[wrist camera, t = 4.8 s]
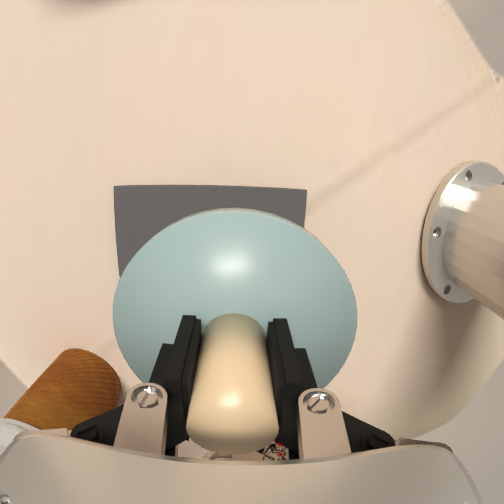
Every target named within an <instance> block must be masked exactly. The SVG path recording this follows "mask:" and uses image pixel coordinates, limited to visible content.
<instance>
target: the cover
mask: <svg viewBox="0 0 504 504" xmlns="http://www.w3.org/2000/svg"><path fill="white" fill-rule="evenodd" d="M183 315H196V318H197V319H201V331H202V339H201V345H200V350H199V356H198V361H197V367H196V372H195V378H194V384H193V390H192V396H191V402H190V405H189V411H188V417H187V424H186V430H187V433H188V435H189V437H190V438H191V439H192V440H193V441H194V442H195V443H196V444H198V445H199V446H201V447H203V448H205V449H207V450H210V451H213V452H217V453H222V454H246V453H251V452H255V451H258V450H260V449H263V448H265V447H266V446H268V445H269V444H271V443H272V442H273V441H274V440H275V438H276V437H277V435H278V431H279V427H278V420H277V412H276V407H275V400H274V393H273V385H272V378H271V371H270V363H269V356H268V348H267V341H266V339H267V328H268V322H273V318H286V319H287V321H288V325H289V329H290V333H291V336H292V340H293V344H294V348H305V349H306V351H307V354H308V358H309V361H310V364H311V367H312V371H313V374H314V377H315V380H316V384H317V387H318V388H321V389H323V388H324V387H325V386H326V385H327V384H328V383H329V382H330V381H331V380H332V379H333V378H334V377H335V376H336V374H337V373H338V372H339V370H340V369H341V367H342V366H343V364H344V363H345V361H346V359H347V357H348V355H349V353H350V351H351V348H352V345H353V342H354V339H355V334H356V328H357V307H356V300H355V296H354V292H353V289H352V286H351V283H350V281H349V279H348V277H347V275H346V273H345V271H344V270H343V268H342V267H341V266H340V264H339V263H338V261H337V260H336V259H335V257H334V256H333V255H332V254H331V253H330V251H329V250H328V249H327V248H326V247H325V246H324V245H323V244H322V243H321V242H320V241H319V240H318V239H317V238H316V237H315V236H313V235H312V234H311V233H309V232H308V231H307V230H306V229H304V228H303V227H301V226H299V225H297V224H296V223H294V222H292V221H290V220H288V219H286V218H283V217H280V216H278V215H275V214H273V213H268V212H264V211H260V210H256V209H246V208H218V209H213V210H207V211H202V212H198V213H195V214H192V215H189V216H186V217H184V218H182V219H180V220H178V221H176V222H173V223H171V224H170V225H168V226H167V227H165V228H164V229H162V230H161V231H159V232H158V233H157V234H155V235H154V236H153V237H152V238H151V239H150V240H149V241H148V242H147V243H146V244H145V245H144V246H143V247H142V248H141V249H140V250H139V251H138V252H137V253H136V254H135V256H134V257H133V258H132V260H131V261H130V262H129V264H128V265H127V266H126V268H125V270H124V272H123V274H122V276H121V278H120V280H119V283H118V286H117V289H116V292H115V297H114V303H113V325H114V332H115V336H116V339H117V342H118V345H119V348H120V350H121V352H122V354H123V357H124V358H125V360H126V362H127V363H128V365H129V366H130V368H131V369H132V371H133V372H134V373H135V374H136V376H137V377H138V378H139V379H140V380H141V381H142V382H143V383H149V380H150V377H151V374H152V371H153V368H154V365H155V363H156V360H157V357H158V354H159V351H160V349H161V346H162V344H163V343H167V344H174V341H175V338H176V334H177V331H178V328H179V325H180V322H181V319H182V316H183Z"/></svg>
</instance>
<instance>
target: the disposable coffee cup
mask: <svg viewBox="0 0 504 504" xmlns="http://www.w3.org/2000/svg"><path fill="white" fill-rule="evenodd" d="M119 393H120V381H119V378H118V376H117V375H116V373H115V371H114V370H113V369H112V367H111V366H110V365H109V364H108V363H107V362H105V361H104V360H103V359H101V358H100V357H98V356H97V355H95V354H93V353H91V352H89V351H85V350H82V349H68V350H65V351H64V352H62V353H61V354H60V355H59V356H58V357H57V359H56V360H55V361H54V362H53V363H52V364H51V365H50V366H49V367H48V368H47V369H46V370H45V371H44V372H43V374H42V375H41V376H40V377H39V378H38V379H37V380H36V381H35V382H34V384H33V385H32V386H31V387H30V388H29V389H28V390H27V391H26V393H25V394H24V395H23V396H22V397H21V398H20V399H19V400H18V402H17V403H16V404H15V405H14V406H13V407H12V408H11V410H10V411H9V412H8V414H7V415H6V416H5V417H4V418H3V419H0V456H1V455H2V453H3V452H4V451H5V449H6V448H7V447H8V446H9V444H10V443H11V442H13V439H14V437H15V436H16V435H17V434H18V433H20V432H22V431H31V430H48V429H60V428H67V430H68V431H69V430H72V429H73V428H74V427H75V426H76V425H77V424H79V423H81V422H83V421H86V420H88V419H91V418H93V417H96V416H98V415H100V414H103V413H105V412H107V411H110V410H112V409H114V408H117V405H118V399H119Z"/></svg>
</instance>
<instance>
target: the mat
mask: <svg viewBox="0 0 504 504" xmlns="http://www.w3.org/2000/svg"><path fill="white" fill-rule="evenodd" d="M306 196H307V190H303V189H288V188H271V187H249V186H219V185H128V186H114V211H115V230H116V244H117V256H118V266H119V275H120V278H121V276H122V274H123V272H124V270H125V268H126V266H127V265H128V264H129V262H130V261H131V260H132V258H133V257H134V256H135V254H136V253H137V252H138V251H139V250H140V249H141V248H142V247H143V246H144V245H145V244H146V243H147V242H148V241H149V240H150V239H151V238H152V237H153V236H154V235H155V234H157V233H158V232H159V231H161V230H162V229H164V228H165V227H167V226H168V225H170V224H171V223H173V222H176V221H178V220H180V219H182V218H184V217H186V216H189V215H192V214H195V213H198V212H202V211H207V210H213V209H218V208H246V209H256V210H260V211H264V212H268V213H273V214H275V215H278V216H280V217H283V218H286V219H288V220H290V221H292V222H294V223H296V224H297V225H299V226H301V227H303V228H304V218H305V207H306Z"/></svg>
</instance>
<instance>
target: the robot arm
mask: <svg viewBox="0 0 504 504" xmlns="http://www.w3.org/2000/svg"><path fill="white" fill-rule="evenodd" d="M422 263H423V268H424V273H425V276H426V278H427V280H428V283H429V285H430V286H431V287H432V289H433V290H434V291H435V292H436V293H437V294H438V295H440V296H441V297H442V298H443V299H445V300H447V301H449V302H452V303H465V302H468V301H470V300H473V299H476V300H478V301H479V302H480V303H482V304H483V305H485V306H486V307H487V308H489V309H490V310H491V311H493V312H494V313H496V314H497V315H498V316H500V317H501V318H502V319H504V175H503V174H502V173H501V172H500V171H499V170H498V169H497V168H496V167H495V166H493V165H491V164H489V163H485V162H480V161H469V162H466V163H463V164H461V165H459V166H458V167H456V168H455V169H453V170H452V171H451V172H450V173H449V174H448V175H447V176H446V177H445V178H444V180H443V181H442V183H441V184H440V186H439V187H438V189H437V191H436V193H435V195H434V197H433V199H432V201H431V203H430V206H429V210H428V213H427V216H426V219H425V224H424V229H423V236H422ZM201 339H202V331H201V319H197V318H196V315H183V316H182V319H181V322H180V325H179V328H178V331H177V334H176V338H175V341H174V344H167V343H163V344H162V346H161V349H160V351H159V354H158V357H157V360H156V363H155V365H154V368H153V371H152V374H151V377H150V380H149V383H141V384H137V385H136V386H134V387H132V388H131V389H130V390H129V392H128V393H127V396H126V400H125V403H124V404H123V405H121V406H119V407H117V408H114V409H112V410H110V411H107V412H105V413H103V414H100V415H98V416H96V417H93V418H91V419H88V420H86V421H83V422H81V423H79V424H77V425H76V426H75V427H74V428H73V429H72V430H69V431H68V430H67V428H60V429H48V430H31V431H22V432H20V433H18V434H17V435H16V436H15V437H14V439H13V442H11V443H10V444H9V446H8V447H7V448H6V449H5V451H4V452H3V453H2V455H1V456H0V504H485V503H484V501H483V499H482V497H481V495H480V492H479V491H478V489H477V487H476V485H475V483H474V481H473V479H472V478H471V476H470V475H469V473H468V471H467V469H466V468H465V467H464V465H463V464H462V462H461V461H460V460H459V459H458V457H457V456H456V455H455V454H454V453H453V451H452V450H451V448H450V447H449V446H447V445H446V444H442V443H437V442H427V441H419V440H412V439H404V438H399V439H398V440H394V439H393V438H392V437H391V436H390V434H388V433H386V432H385V431H382V430H380V429H378V428H376V427H374V426H372V425H369V424H367V423H365V422H363V421H361V420H359V419H357V418H355V417H353V416H351V415H349V414H347V413H345V412H343V411H341V407H340V403H339V400H338V398H337V396H336V395H335V394H334V393H332V392H330V391H329V390H325V389H321V388H318V387H317V384H316V380H315V377H314V374H313V371H312V367H311V364H310V361H309V358H308V354H307V351H306V349H305V348H294V344H293V340H292V336H291V333H290V329H289V325H288V321H287V319H286V318H273V322H268V328H267V339H266V341H267V348H268V356H269V363H270V371H271V378H272V385H273V393H274V400H275V407H276V412H277V420H278V427H279V431H278V435H277V437H276V438H275V443H280V444H281V445H283V446H284V447H286V460H275V461H226V460H207V459H194V458H183V457H177V456H178V444H180V443H181V442H183V441H185V440H188V441H189V435H188V433H187V430H186V424H187V417H188V411H189V405H190V402H191V396H192V390H193V384H194V378H195V372H196V367H197V361H198V356H199V350H200V345H201Z"/></svg>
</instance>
